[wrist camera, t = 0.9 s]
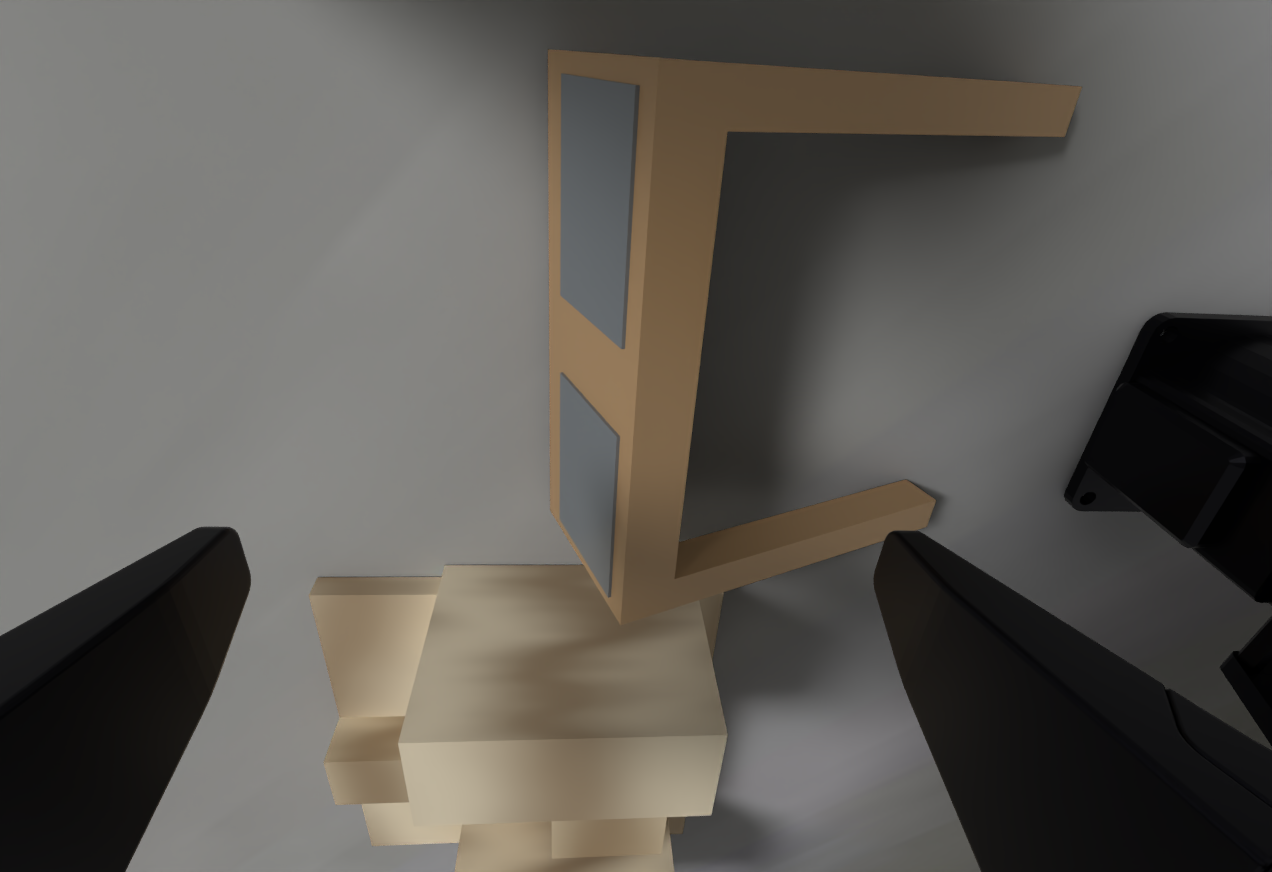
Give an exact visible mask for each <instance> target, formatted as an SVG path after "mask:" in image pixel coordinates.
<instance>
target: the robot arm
mask: <svg viewBox="0 0 1272 872" xmlns="http://www.w3.org/2000/svg"><path fill="white" fill-rule="evenodd" d="M1166 328H1167V330H1166V331H1165V333H1164V334H1163V335H1161V336H1160V334H1161V333H1162V332H1163V330H1165V329H1166ZM1084 494H1085V495H1084ZM1064 497H1065V500H1066V501H1067V502H1068V503H1069V504H1070V505H1071V506H1072V507H1073V508H1074V509H1076V510H1078V511H1128V512H1143V513H1144V514H1145V515H1147V516H1148V517H1149V518H1150V519H1151V520H1153V521H1154V522H1155V523H1156V524H1157V525H1159V526H1160V527H1161V528H1162V529H1163V530H1165V531H1166V532H1167V533H1168V534H1169V535H1171V536H1172V537H1173V538H1174V539H1175V540H1177V541H1178V542H1179V543H1180V544H1181V545H1183V546H1185V547H1187V548H1192V549H1193V550H1194V551H1195V552H1196V553H1198V554H1199V555H1200V556H1201V557H1203V558H1204V559H1205V560H1206V561H1207V562H1209V563H1210V564H1211V565H1212V566H1213V567H1215V568H1216V569H1217V570H1218V571H1220V572H1221V573H1222V574H1223V575H1224V576H1226V577H1227V578H1228V579H1229V580H1231V581H1232V582H1233V583H1234V584H1235V585H1237V586H1238V587H1239V588H1240V589H1241V590H1243V591H1244V592H1245V593H1246V594H1248V595H1249V596H1250V597H1251V598H1252V599H1254V600H1255V601H1256V602H1260V603H1269V604H1270V605H1271V606H1272V316H1249V315H1222V314H1194V313H1167V312H1166V313H1160V314H1157V315H1155V316H1153V317H1152V318H1150V319H1149V320H1148V321H1147V322H1146V323H1145V325H1144V326H1143V328H1142V329H1141V331H1140V333H1139V335H1138V338H1137V340H1136V342H1135V344H1134V346H1133V348H1132V350H1131V352H1130V354H1129V357H1128V359H1127V361H1126V363H1125V365H1124V367H1123V369H1122V371H1121V374H1120V376H1119V378H1118V380H1117V382H1116V384H1115V386H1114V388H1113V391H1112V393H1111V395H1110V397H1109V399H1108V401H1107V403H1106V405H1105V408H1104V410H1103V412H1102V414H1101V416H1100V418H1099V420H1098V422H1097V425H1096V427H1095V429H1094V431H1093V433H1092V435H1091V437H1090V439H1089V442H1088V444H1087V446H1086V448H1085V450H1084V452H1083V454H1082V456H1081V459H1080V461H1079V463H1078V465H1077V467H1076V469H1075V471H1074V473H1073V476H1072V478H1071V480H1070V482H1069V484H1068V486H1067V488H1066V490H1065V494H1064ZM250 586H251V575H250V570H249V567H248V564H247V561H246V557H245V554H244V551H243V548H242V544H241V541H240V538H239V535H238V533H237V532H236V531H235V530H234V529H233V528H230V527H199V528H196V529H194V530H192V531H191V532H189V533H187V534H185V535H183V536H182V537H180V538H178V539H176V540H174V541H172V542H171V543H169V544H167V545H165V546H163V547H161V548H160V549H158V550H156V551H154V552H152V553H151V554H149V555H147V556H145V557H143V558H141V559H140V560H138V561H136V562H134V563H132V564H130V565H129V566H127V567H125V568H123V569H121V570H120V571H118V572H116V573H114V574H112V575H110V576H109V577H107V578H105V579H103V580H101V581H99V582H98V583H96V584H94V585H92V586H90V587H89V588H87V589H85V590H83V591H81V592H79V593H78V594H76V595H74V596H72V597H70V598H69V599H67V600H65V601H63V602H61V603H59V604H58V605H56V606H54V607H52V608H50V609H48V610H47V611H45V612H43V613H41V614H39V615H38V616H36V617H34V618H32V619H30V620H28V621H27V622H25V623H23V624H21V625H19V626H17V627H16V628H14V629H12V630H10V631H8V632H7V633H5V634H3V635H1V636H0V872H125V871H126V869H127V867H128V865H129V863H130V861H131V859H132V857H133V855H134V853H135V851H136V849H137V847H138V845H139V843H140V841H141V839H142V837H143V835H144V833H145V831H146V829H147V827H148V825H149V822H150V820H151V818H152V816H153V814H154V812H155V810H156V808H157V806H158V804H159V802H160V800H161V798H162V796H163V794H164V792H165V790H166V788H167V786H168V784H169V782H170V780H171V778H172V776H173V774H174V772H175V770H176V768H177V765H178V763H179V761H180V759H181V757H182V755H183V753H184V751H185V749H186V747H187V745H188V743H189V741H190V739H191V737H192V735H193V733H194V731H195V729H196V727H197V725H198V723H199V721H200V719H201V717H202V715H203V712H204V710H205V708H206V706H207V704H208V702H209V699H210V697H211V695H212V693H213V690H214V688H215V685H216V682H217V680H218V677H219V675H220V672H221V669H222V666H223V663H224V661H225V658H226V655H227V652H228V650H229V647H230V644H231V641H232V638H233V636H234V633H235V630H236V627H237V625H238V622H239V619H240V616H241V613H242V611H243V608H244V605H245V602H246V599H247V597H248V594H249V591H250ZM874 589H875V593H876V596H877V600H878V603H879V606H880V610H881V613H882V617H883V620H884V623H885V627H886V630H887V633H888V637H889V640H890V644H891V647H892V650H893V654H894V657H895V660H896V664H897V667H898V670H899V673H900V676H901V679H902V682H903V685H904V688H905V690H906V693H907V696H908V698H909V701H910V703H911V705H912V708H913V710H914V713H915V715H916V717H917V720H918V722H919V725H920V727H921V729H922V732H923V734H924V736H925V739H926V741H927V744H928V746H929V748H930V751H931V753H932V756H933V758H934V760H935V763H936V765H937V767H938V770H939V772H940V775H941V777H942V779H943V782H944V784H945V787H946V789H947V791H948V794H949V796H950V798H951V801H952V803H953V806H954V808H955V810H956V813H957V815H958V817H959V820H960V822H961V825H962V827H963V829H964V832H965V834H966V837H967V839H968V841H969V844H970V846H971V848H972V851H973V853H974V856H975V858H976V860H977V863H978V865H979V868H980V870H981V872H1272V751H1271V750H1270V749H1268V748H1266V747H1264V746H1263V745H1261V744H1259V743H1257V742H1256V741H1254V740H1252V739H1251V738H1249V737H1247V736H1246V735H1244V734H1242V733H1241V732H1239V731H1238V730H1236V729H1234V728H1233V727H1231V726H1229V725H1228V724H1226V723H1224V722H1223V721H1221V720H1220V719H1218V718H1216V717H1215V716H1213V715H1211V714H1210V713H1208V712H1206V711H1205V710H1203V709H1202V708H1200V707H1198V706H1197V705H1195V704H1194V703H1192V702H1190V701H1189V700H1187V699H1186V698H1184V697H1183V696H1181V695H1179V694H1178V693H1176V692H1175V691H1173V690H1171V689H1165V687H1164V685H1163V684H1162V683H1160V682H1159V681H1157V680H1155V679H1154V678H1152V677H1151V676H1149V675H1147V674H1146V673H1144V672H1143V671H1141V670H1139V669H1138V668H1136V667H1135V666H1133V665H1132V664H1130V663H1128V662H1127V661H1125V660H1124V659H1122V658H1120V657H1119V656H1117V655H1116V654H1114V653H1112V652H1111V651H1109V650H1108V649H1106V648H1104V647H1103V646H1101V645H1100V644H1098V643H1096V642H1095V641H1093V640H1092V639H1090V638H1089V637H1087V636H1085V635H1084V634H1082V633H1081V632H1079V631H1077V630H1076V629H1074V628H1073V627H1071V626H1069V625H1068V624H1066V623H1065V622H1063V621H1061V620H1060V619H1058V618H1057V617H1055V616H1054V615H1052V614H1050V613H1049V612H1047V611H1046V610H1044V609H1042V608H1041V607H1039V606H1038V605H1036V604H1034V603H1033V602H1031V601H1030V600H1028V599H1026V598H1025V597H1023V596H1022V595H1020V594H1019V593H1017V592H1015V591H1014V590H1012V589H1011V588H1009V587H1007V586H1006V585H1004V584H1003V583H1001V582H999V581H998V580H996V579H995V578H993V577H991V576H990V575H988V574H987V573H985V572H983V571H982V570H980V569H979V568H977V567H976V566H974V565H972V564H971V563H969V562H968V561H966V560H964V559H963V558H961V557H960V556H958V555H956V554H955V553H953V552H952V551H950V550H948V549H947V548H945V547H944V546H942V545H941V544H939V543H937V542H936V541H934V540H933V539H931V538H929V537H928V536H926V535H925V534H923V533H921V532H919V531H906V530H895V531H892V532H890V533H888V535H887V536H886V538H885V541H884V544H883V547H882V550H881V553H880V557H879V560H878V563H877V566H876V569H875V573H874ZM1220 669H1221V671H1222V672H1223V674H1224V675H1225V677H1226V678H1227V680H1228V681H1229V683H1230V684H1231V686H1232V687H1233V689H1234V690H1235V692H1236V693H1237V695H1238V696H1239V698H1240V699H1241V701H1242V702H1243V704H1244V705H1245V707H1246V708H1247V710H1248V711H1249V713H1250V714H1251V716H1252V717H1253V719H1254V720H1255V722H1256V723H1257V725H1258V726H1259V728H1260V729H1261V731H1262V732H1263V734H1264V735H1265V737H1266V738H1267V740H1268V741H1269V743H1270V744H1271V746H1272V616H1271V617H1270V618H1269V620H1268V621H1267V622H1266V623H1265V624H1264V625H1263V626H1262V627H1261V628H1260V629H1259V631H1258V632H1257V633H1256V634H1255V635H1254V636H1253V637H1252V638H1251V639H1250V640H1249V642H1248V643H1247V644H1246V645H1245V646H1244V647H1243V648H1242V649H1241V650H1240V651H1233V652H1232V653H1231V655H1230V656H1229V657H1228V658H1227V659H1226V660H1225V661H1224V662H1223V663H1222V665H1221V666H1220Z"/></svg>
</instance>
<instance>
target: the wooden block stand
mask: <svg viewBox="0 0 1272 872" xmlns="http://www.w3.org/2000/svg"><path fill="white" fill-rule="evenodd" d="M723 595H724V592H723V593H720V594H717V595H713V596H710V597H707V598H704V599H701V600H698V601H695V602H692V603H689V604H685V605H682V606H679V607H676V608H673V609H670V610H667V611H664V612H661V613H658V614H654V615H651V616H648V617H645V618H642V619H639V620H636V621H633V622H630V623H626V624H623V625H620V624H619V622H618V620H617V619H616V617H615V616H614V614H613V612H612V611H611V609H610V607H609V606H608V604H607V602H606V601H605V599H604V598H603V596H602V594H601V593H600V591H599V589H598V588H597V586H596V584H595V583H594V581H593V580H592V578H591V576H590V575H589V573H588V571H587V570H586V568H585V566H584V565H445V566H444V570H443V574H442V577H318V578H317V580H316V582H315V584H314V586H313V588H312V590H311V592H310V594H309V598H310V602H311V606H312V610H313V614H314V618H315V622H316V626H317V630H318V634H319V638H320V642H321V646H322V650H323V654H324V658H325V661H326V665H327V669H328V673H329V677H330V681H331V685H332V689H333V693H334V697H335V701H336V705H337V709H338V713H339V717H340V718H339V721H338V724H337V726H336V729H335V732H334V735H333V738H332V740H331V743H330V746H329V749H328V751H327V754H326V757H325V760H324V766H325V769H326V773H327V776H328V780H329V783H330V787H331V790H332V794H333V797H334V801H335V804H336V805H346V804H362V808H363V812H364V816H365V820H366V824H367V828H368V831H369V835H370V839H371V843H372V846H385V845H410V844H436V843H459V847H458V853H457V860H456V866H455V872H674V865H673V856H672V848H671V839H670V834H683V828H684V823H685V817H686V816H711V814H712V809H713V805H714V800H715V795H716V790H717V785H718V780H719V775H720V770H721V766H722V761H723V756H724V751H725V746H726V741H727V736H728V734H727V729H726V724H725V719H724V715H723V710H722V705H721V701H720V696H719V691H718V687H717V682H716V677H715V672H714V668H713V663H712V659H713V653H714V648H715V642H716V636H717V630H718V624H719V618H720V613H721V607H722V601H723Z"/></svg>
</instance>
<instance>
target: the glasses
mask: <svg viewBox="0 0 1272 872" xmlns="http://www.w3.org/2000/svg"><path fill="white" fill-rule="evenodd" d="M1081 89H1082V87H1080V86H1067V85H1053V84H1040V83H1026V82H1011V81H996V80H981V79H966V78H951V77H936V76H921V75H906V74H891V73H876V72H861V71H846V70H831V69H816V68H801V67H786V66H771V65H756V64H741V63H726V62H711V61H696V60H684V59H672V58H659V57H647V56H635V55H622V54H610V53H596V52H581V51H566V50H551V49H548V168H549V358H550V511H551V512H552V514H553V516H554V517H555V519H556V521H557V522H558V524H559V525H560V527H561V529H562V530H563V532H564V534H565V535H566V537H567V539H568V540H569V542H570V543H571V545H572V547H573V548H574V550H575V552H576V553H577V555H578V557H579V558H580V560H581V561H582V563H583V565H584V566H585V568H586V570H587V571H588V573H589V575H590V576H591V578H592V580H593V581H594V583H595V584H596V586H597V588H598V589H599V591H600V593H601V594H602V596H603V598H604V599H605V601H606V602H607V604H608V606H609V607H610V609H611V611H612V612H613V614H614V616H615V617H616V619H617V620H618V622H619V624H620V625H623V624H626V623H630V622H633V621H636V620H639V619H642V618H645V617H648V616H651V615H654V614H658V613H661V612H664V611H667V610H670V609H673V608H676V607H679V606H682V605H685V604H689V603H692V602H695V601H698V600H701V599H704V598H707V597H710V596H713V595H717V594H720V593H723V592H726V591H729V590H732V589H735V588H738V587H741V586H745V585H748V584H751V583H754V582H757V581H760V580H763V579H766V578H769V577H772V576H776V575H779V574H782V573H785V572H788V571H791V570H794V569H797V568H800V567H804V566H807V565H810V564H813V563H816V562H819V561H822V560H825V559H828V558H832V557H835V556H838V555H841V554H844V553H847V552H850V551H853V550H856V549H859V548H863V547H866V546H869V545H872V544H875V543H878V542H881V541H884V540H885V538H886V536H887V535H888V533H890V532H892V531H895V530H906V531H915V530H918V529H922V528H925V527H927V525H928V522H929V519H930V516H931V514H932V511H933V508H934V505H935V502H936V500H935V499H934V498H932V497H931V496H929V495H928V494H926V493H925V492H924V491H922V490H921V489H919V488H918V487H916V486H915V485H913V484H912V483H911V482H909V481H908V480H902V481H898V482H895V483H891V484H888V485H884V486H880V487H877V488H873V489H869V490H866V491H862V492H859V493H855V494H851V495H848V496H844V497H840V498H837V499H833V500H830V501H826V502H822V503H819V504H815V505H811V506H808V507H804V508H801V509H797V510H793V511H790V512H786V513H782V514H779V515H775V516H772V517H768V518H764V519H761V520H757V521H753V522H750V523H746V524H743V525H739V526H735V527H732V528H728V529H724V530H721V531H717V532H714V533H710V534H706V535H703V536H699V537H696V538H692V539H688V540H685V541H681V542H679V536H680V528H681V520H682V511H683V503H684V494H685V486H686V478H687V469H688V461H689V452H690V444H691V435H692V427H693V419H694V410H695V402H696V393H697V385H698V377H699V368H700V360H701V351H702V343H703V334H704V326H705V318H706V309H707V301H708V292H709V284H710V276H711V267H712V259H713V250H714V242H715V233H716V225H717V217H718V208H719V200H720V191H721V183H722V175H723V166H724V158H725V149H726V141H727V133H728V132H783V133H845V134H908V135H971V136H1034V137H1065V134H1066V132H1067V129H1068V126H1069V123H1070V120H1071V117H1072V115H1073V112H1074V109H1075V106H1076V103H1077V100H1078V98H1079V95H1080V92H1081Z"/></svg>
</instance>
